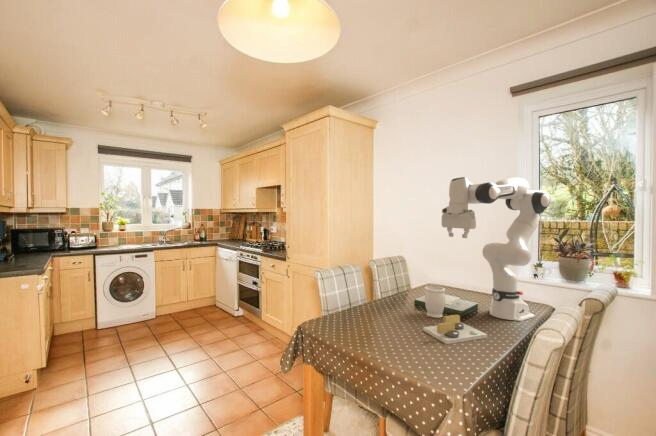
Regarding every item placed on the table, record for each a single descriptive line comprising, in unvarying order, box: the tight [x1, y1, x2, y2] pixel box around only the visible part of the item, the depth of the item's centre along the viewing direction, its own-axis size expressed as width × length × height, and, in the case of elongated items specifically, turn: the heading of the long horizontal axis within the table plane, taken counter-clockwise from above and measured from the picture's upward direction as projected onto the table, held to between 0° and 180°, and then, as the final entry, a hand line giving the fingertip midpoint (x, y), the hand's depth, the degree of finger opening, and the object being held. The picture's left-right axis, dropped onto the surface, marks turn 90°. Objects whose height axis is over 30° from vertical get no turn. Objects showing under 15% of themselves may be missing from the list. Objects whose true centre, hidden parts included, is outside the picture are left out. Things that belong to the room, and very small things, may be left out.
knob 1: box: [442, 314, 465, 329], centre depth 143 cm, size 10×6×6 cm, turn 109°
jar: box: [424, 285, 446, 319], centre depth 164 cm, size 11×10×15 cm
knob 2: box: [436, 322, 459, 338], centre depth 133 cm, size 10×6×6 cm, turn 109°
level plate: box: [422, 321, 488, 345], centre depth 139 cm, size 22×16×2 cm
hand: (457, 237), depth 152 cm, fingers open, 8 cm apart
